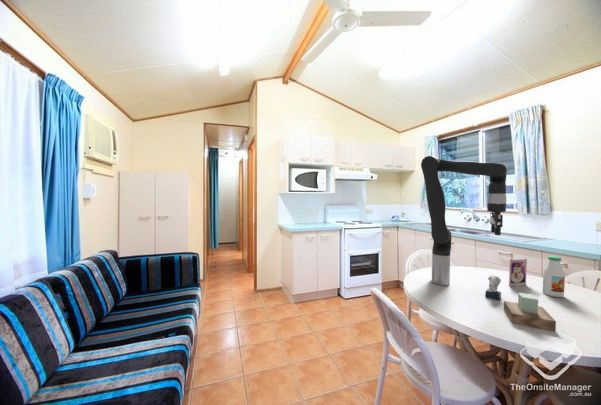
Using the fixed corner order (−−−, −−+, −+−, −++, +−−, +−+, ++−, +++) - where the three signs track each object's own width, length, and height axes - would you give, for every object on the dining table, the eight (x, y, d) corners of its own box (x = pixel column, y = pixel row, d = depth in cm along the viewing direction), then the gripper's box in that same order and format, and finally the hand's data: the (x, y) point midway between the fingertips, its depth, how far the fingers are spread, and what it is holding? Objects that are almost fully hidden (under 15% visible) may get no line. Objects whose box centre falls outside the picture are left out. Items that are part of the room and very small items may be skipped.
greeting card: (510, 286, 137) (511, 260, 136) (498, 281, 144) (498, 256, 143) (527, 285, 139) (528, 259, 138) (514, 280, 146) (515, 256, 145)
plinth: (511, 322, 100) (512, 313, 99) (503, 309, 111) (503, 300, 111) (555, 331, 93) (555, 321, 93) (542, 316, 105) (542, 307, 105)
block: (521, 311, 101) (522, 297, 101) (517, 306, 105) (518, 292, 105) (537, 314, 99) (538, 299, 98) (533, 308, 103) (533, 295, 103)
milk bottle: (542, 294, 126) (544, 257, 125) (542, 290, 131) (543, 254, 130) (564, 299, 120) (566, 259, 120) (563, 294, 126) (564, 256, 125)
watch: (501, 296, 124) (502, 275, 124) (498, 301, 119) (499, 279, 118) (488, 293, 128) (488, 272, 128) (484, 297, 123) (484, 276, 122)
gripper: (484, 201, 132) (484, 231, 133) (490, 203, 120) (489, 235, 121) (502, 202, 129) (501, 232, 129) (509, 203, 116) (508, 236, 117)
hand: (495, 233), depth 125 cm, fingers open, 8 cm apart
